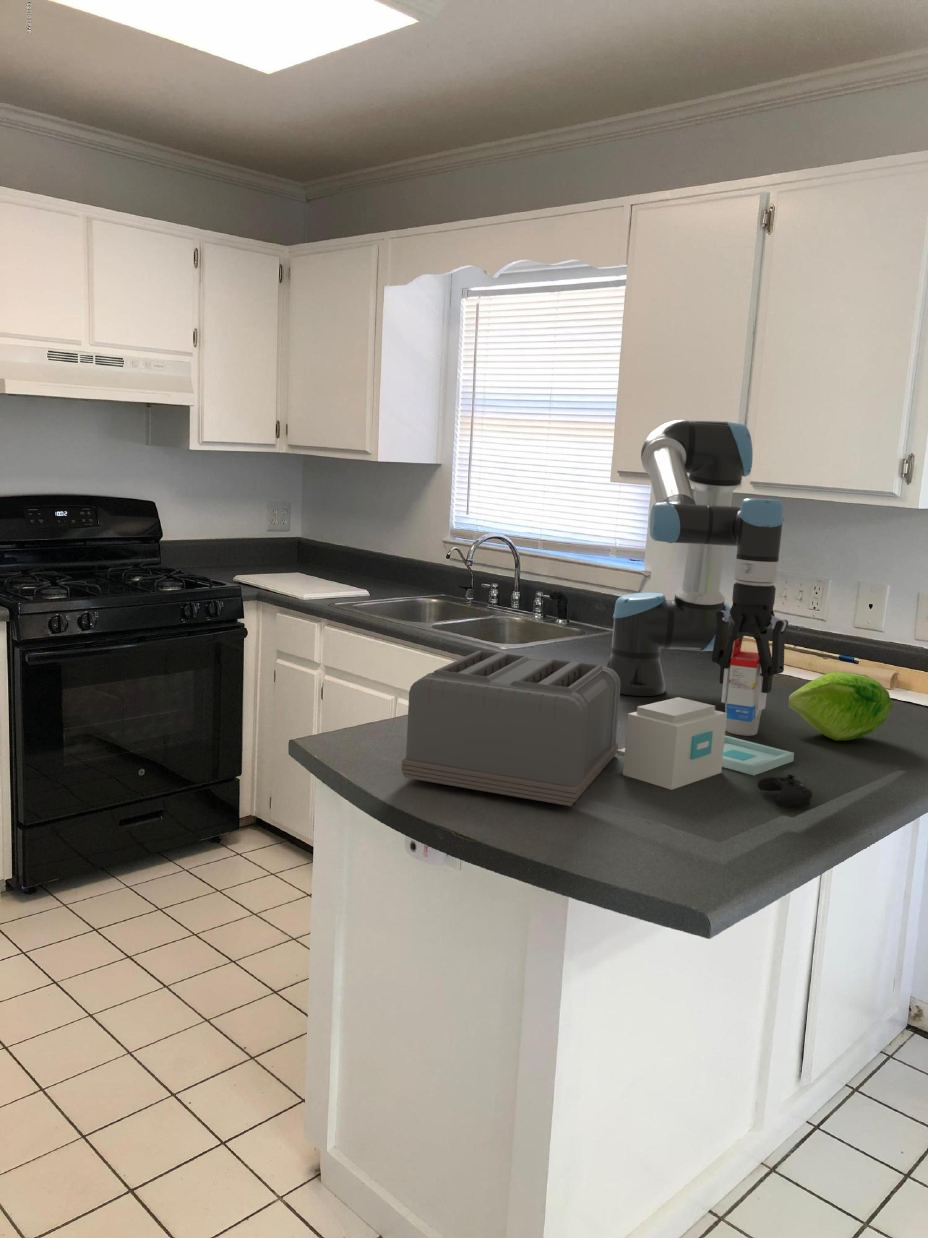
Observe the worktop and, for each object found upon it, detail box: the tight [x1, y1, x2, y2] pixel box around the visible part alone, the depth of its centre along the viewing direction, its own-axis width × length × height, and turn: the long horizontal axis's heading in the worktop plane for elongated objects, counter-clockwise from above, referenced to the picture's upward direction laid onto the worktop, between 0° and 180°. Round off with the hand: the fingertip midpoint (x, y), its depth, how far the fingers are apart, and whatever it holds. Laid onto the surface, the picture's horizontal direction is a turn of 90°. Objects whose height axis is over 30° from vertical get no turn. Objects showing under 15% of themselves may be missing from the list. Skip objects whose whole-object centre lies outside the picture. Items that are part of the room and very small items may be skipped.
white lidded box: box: [616, 697, 727, 791], centre depth 180 cm, size 14×16×12 cm
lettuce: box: [788, 671, 893, 742], centre depth 211 cm, size 15×20×14 cm
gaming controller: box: [757, 774, 813, 808], centre depth 167 cm, size 10×5×6 cm
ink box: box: [726, 638, 762, 722], centre depth 190 cm, size 8×5×15 cm, turn 155°
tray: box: [722, 734, 795, 776], centre depth 192 cm, size 15×15×2 cm
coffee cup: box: [724, 703, 763, 736], centre depth 211 cm, size 10×10×15 cm
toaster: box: [401, 650, 621, 807], centre depth 180 cm, size 30×36×18 cm
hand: (742, 705), depth 190 cm, fingers closed on ink box, 6 cm apart
